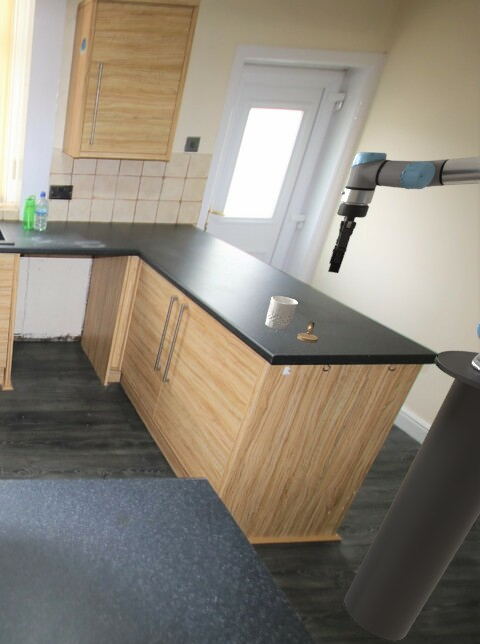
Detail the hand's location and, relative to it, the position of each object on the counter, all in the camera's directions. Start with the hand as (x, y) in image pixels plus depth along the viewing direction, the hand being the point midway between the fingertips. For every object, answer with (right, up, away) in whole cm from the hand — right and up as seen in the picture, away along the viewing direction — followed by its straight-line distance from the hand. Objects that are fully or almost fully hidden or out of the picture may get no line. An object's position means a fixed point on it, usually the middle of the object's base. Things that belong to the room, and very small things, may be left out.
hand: (333, 268), depth 158 cm
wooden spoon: (-5, -22, +5) cm, 23 cm away
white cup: (-13, -20, +10) cm, 26 cm away
